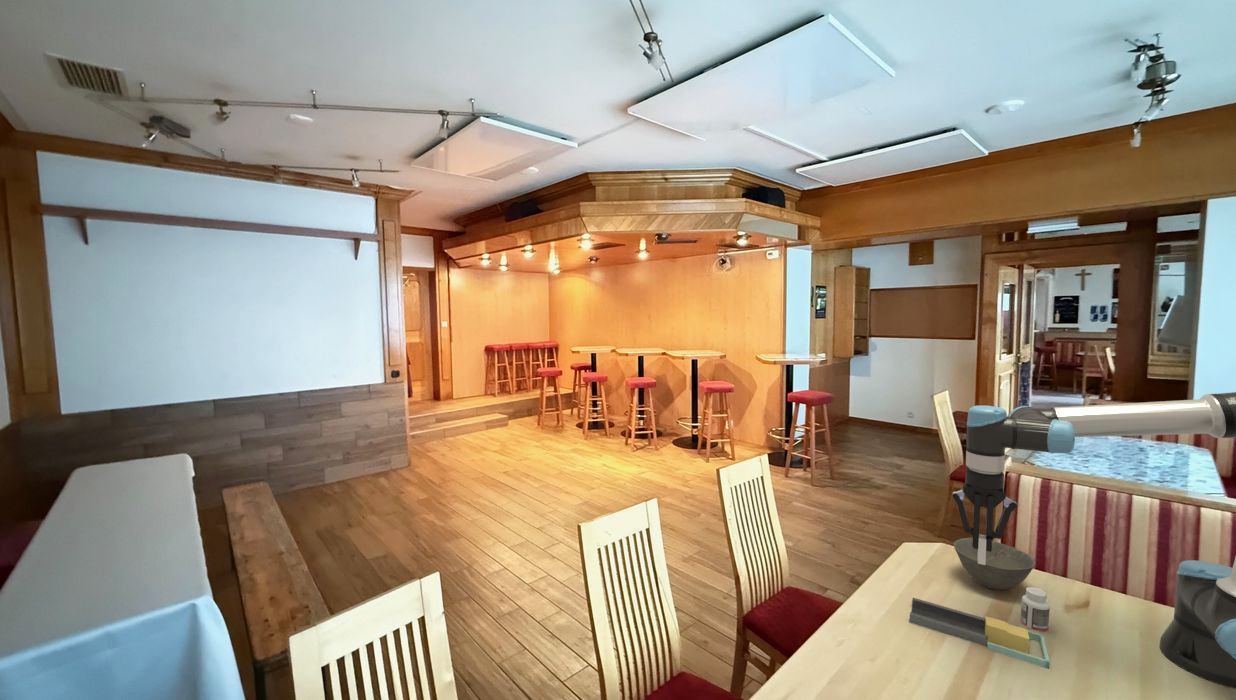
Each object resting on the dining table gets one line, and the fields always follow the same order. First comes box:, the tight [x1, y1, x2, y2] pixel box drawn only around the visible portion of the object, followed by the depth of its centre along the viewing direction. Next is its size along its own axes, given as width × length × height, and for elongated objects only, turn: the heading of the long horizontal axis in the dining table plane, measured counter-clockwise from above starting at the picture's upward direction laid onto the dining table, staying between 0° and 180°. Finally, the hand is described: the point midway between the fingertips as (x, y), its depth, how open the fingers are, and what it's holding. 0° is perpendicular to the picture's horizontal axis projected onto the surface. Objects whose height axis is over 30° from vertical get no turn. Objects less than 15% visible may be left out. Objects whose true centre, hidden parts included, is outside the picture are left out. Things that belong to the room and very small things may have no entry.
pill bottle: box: [1020, 586, 1051, 632], centre depth 123 cm, size 5×5×10 cm
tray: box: [986, 630, 1051, 670], centre depth 116 cm, size 11×11×2 cm
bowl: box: [953, 537, 1036, 591], centre depth 142 cm, size 19×19×10 cm
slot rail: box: [908, 597, 989, 647], centre depth 124 cm, size 16×9×3 cm, turn 54°
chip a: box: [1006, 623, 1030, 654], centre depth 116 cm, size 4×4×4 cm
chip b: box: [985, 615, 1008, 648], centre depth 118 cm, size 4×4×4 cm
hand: (981, 561), depth 120 cm, fingers closed
